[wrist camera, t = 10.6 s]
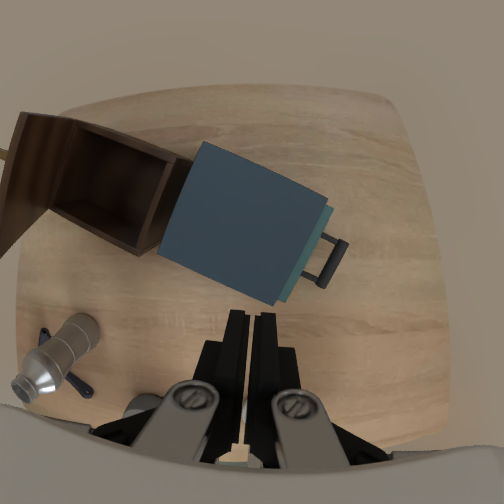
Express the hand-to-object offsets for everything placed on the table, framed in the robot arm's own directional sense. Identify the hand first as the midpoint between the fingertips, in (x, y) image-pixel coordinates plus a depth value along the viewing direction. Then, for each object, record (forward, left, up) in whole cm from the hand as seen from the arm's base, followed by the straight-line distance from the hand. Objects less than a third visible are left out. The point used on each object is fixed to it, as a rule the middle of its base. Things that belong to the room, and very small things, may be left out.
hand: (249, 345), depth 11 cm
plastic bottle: (+19, +27, -28) cm, 44 cm away
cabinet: (+2, -1, -28) cm, 28 cm away
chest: (+18, +1, -28) cm, 34 cm away
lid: (+22, +1, -12) cm, 25 cm away
